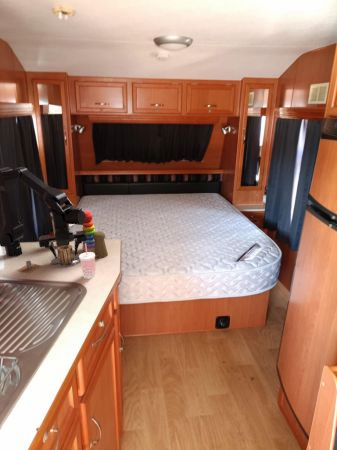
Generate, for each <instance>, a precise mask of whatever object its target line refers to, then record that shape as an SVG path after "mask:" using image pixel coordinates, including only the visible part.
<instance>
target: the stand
mask: <svg viewBox="0 0 337 450" xmlns="http://www.w3.org/2000/svg"><path fill="white" fill-rule="evenodd" d="M41 267H42V265H41V264H36V263H32V262H31V260H27V261H25V265H24V266H22V267H20V268H18V269H17V270H16V272H21V273H25V274H30V275H31V273H34V271H36V270H38V269H39V268H41Z"/></svg>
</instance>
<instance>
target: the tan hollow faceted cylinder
mask: <svg viewBox="0 0 337 450" xmlns="http://www.w3.org/2000/svg"><path fill="white" fill-rule="evenodd" d="M56 251H57V256H58V257H59V262H60V263H62V264H67V263H70V262H72V261H74V257H73V254H74V250H73V245H71V244H69V245H68V246H61V247H58V246H57V249H56Z"/></svg>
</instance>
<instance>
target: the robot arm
mask: <svg viewBox="0 0 337 450" xmlns="http://www.w3.org/2000/svg"><path fill="white" fill-rule="evenodd" d="M16 179H18V180H20V181H21V182H22V183H24V185H26V186H27V187H29V188H30V189H32V190H33V191H34V192H36V193H37V194H39V195H40V196H41V197H42V199H43V202H44V203H45V204H46V205H47V206H48V207H49V208H48V209H47V210H46V212H47V213H49V214H51V216H52V220H53V223H54V229H55V236H52V237H51V236H50V235H49V234H47V235H46V234H45V235H40V236H39V238H38V245H39V248H45V249H49V251H50V252H51V253H52V255H53V257H54V258H56V259H57V256H58V254H57V252H56V251H57V250H56V247H57V248H58V247H61V246H68V245H71V244H70V243H71V242H72V243H73V241H74V254H75V256H76V254H78V249H79V247H80V244H83V241H86V240H87V237H86V232H85V231H83V230H76V231H75V234H74V231H73V232H70V227H69V225H74V226H75V225H78V226H83V224H84V223H85V219H86V215H85V213H84V211H83V209H82V207H75V206H74V204H73V203H72V202H71V201H70V199H69V198H68V196H67V194H66V193H65V191H63V190H61V189H58V188H56V187H52V186H50V185H48V184H47V183H45V182H44V181H43V180H42V179H40V178H39V177H37V176H36V175H35V174H33V173H32V172H31V171H29V170H28V168H27V167H25V166H20V167H14V168H11V167H9V166H7V167H3V168H0V199H1V203H2V204H1V205H2V210H3V216H4V225H3V227H2V237H1V238H0V247H3V248H4V250H5V254H6V255H7V257H10V258H12V257H19V256H21V255H23V253H24V252H23V249H22V246H21V243H20V242H21V241H23V238H24V236H25V233H26V231H25V225H24V223H20V221H19V219H18V218H19V217H18V213H17V207H16V200H15V194H14V188H15V185H16V183H17V181H16ZM54 243H55V244H56V243H57V246H56V247H55V244H54Z"/></svg>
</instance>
